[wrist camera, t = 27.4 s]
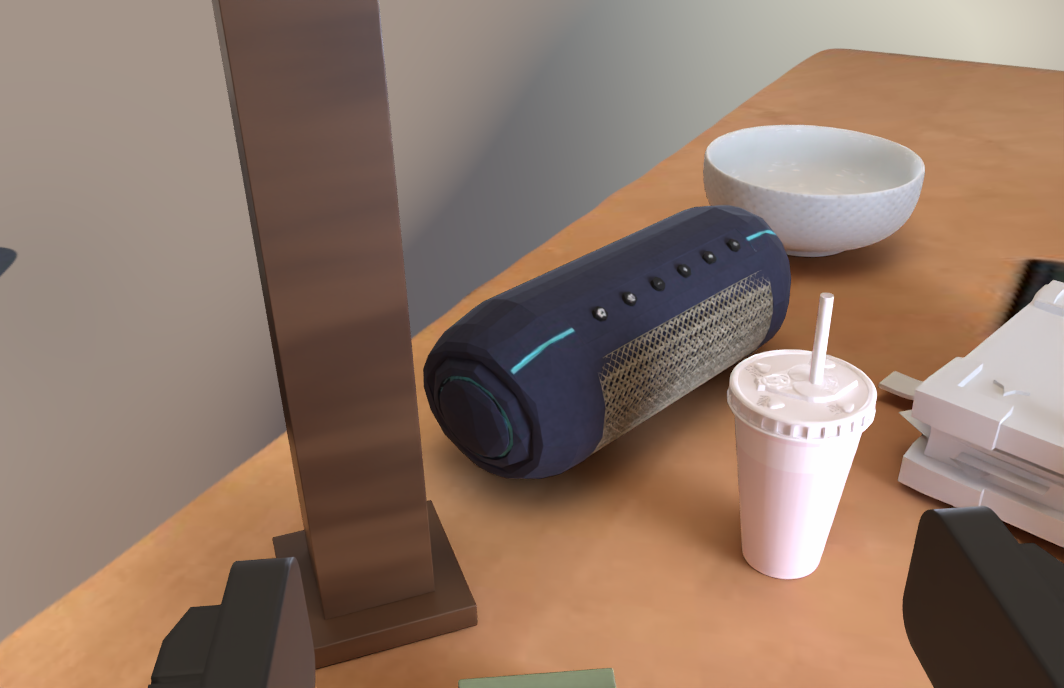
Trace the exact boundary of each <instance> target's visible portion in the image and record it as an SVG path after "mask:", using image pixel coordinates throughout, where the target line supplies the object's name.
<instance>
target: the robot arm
mask: <svg viewBox="0 0 1064 688" xmlns="http://www.w3.org/2000/svg"><path fill="white" fill-rule="evenodd" d="M903 619H904V625H905V629H906V633H907V636H908V639H909V642H910V644H911V646H912V648H913V650H914V652H915V654H916V656H917V657H918V659H919V661H920V663H921V665H922V667H923V668H924V670H925V672H926V674H927V676H928V678H929V679H930V681H931V683H932V685H933V687H934V688H1064V564H1063V563H1062V562H1060V561H1059V560H1058V559H1056V558H1055V557H1053V556H1052V555H1050V554H1049V553H1048V552H1046V551H1045V550H1043V549H1042V548H1040V547H1039V546H1038V545H1036V544H1035V543H1024V544H1019V543H1018V542H1017V540H1016V539H1015V538H1014V536H1013V535H1012V534H1011V532H1010V531H1009V530H1008V528H1007V527H1006V526H1005V525H1004V523H1003V522H1002V521H1001V519H1000V518H999V517H998V515H997V514H996V513H995V512H994V511H993V510H992V509H991V508H989V507H987V506H974V507H960V508H946V509H932V510H927V511H925V512H924V513H923V515H922V516H921V519H920V522H919V526H918V530H917V535H916V539H915V544H914V549H913V553H912V558H911V563H910V567H909V572H908V577H907V581H906V586H905V591H904V596H903ZM148 688H315V654H314V645H313V639H312V633H311V628H310V622H309V617H308V611H307V606H306V600H305V595H304V589H303V584H302V578H301V573H300V568H299V564H298V561H297V559H296V558H295V557H287V558H273V559H259V560H245V561H236V562H234V563H233V565H232V567H231V570H230V573H229V577H228V581H227V585H226V588H225V592H224V596H223V600H222V603H221V605H213V606H200V607H190V609H189V610H188V611H187V612H186V613H185V615H184V616H183V617H182V618H181V619H180V621H179V622H178V623H177V624H176V625H175V627H174V628H173V629H172V630H171V631H170V633H169V634H168V635H167V636H166V637H165V639H164V640H163V642H162V645H161V648H160V651H159V654H158V657H157V661H156V664H155V667H154V670H153V673H152V676H151V685H148Z"/></svg>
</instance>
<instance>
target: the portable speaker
mask: <svg viewBox="0 0 1064 688" xmlns="http://www.w3.org/2000/svg"><path fill="white" fill-rule="evenodd" d="M790 286H791V273H790V264H789V259H788V257H787V254H786V251H785V249H784V246H783V243H782V242H781V240H780V239H779V238H778V236H777V235H776V234H775V233H774V231H773V230H772V229H771V228H770V226H769V225H768V224H767V223H766V222H765V220H764V219H763V218H761V217H759V216H757V215H755V214H753V213H751V212H749V211H747V210H745V209H742V208H739V207H735V206H731V205H716V206H703V207H694V208H690V209H687V210H684V211H681V212H679V213H677V214H675V215H673V216H670V217H668V218H666V219H664V220H662V221H659V222H657V223H655V224H653V225H651V226H648V227H646V228H644V229H642V230H640V231H637V232H635V233H633V234H631V235H629V236H626V237H624V238H622V239H620V240H618V241H615V242H613V243H611V244H609V245H607V246H604V247H602V248H600V249H598V250H596V251H593V252H591V253H589V254H587V255H585V256H582V257H580V258H578V259H576V260H574V261H571V262H569V263H567V264H565V265H563V266H560V267H558V268H556V269H554V270H552V271H549V272H547V273H545V274H543V275H541V276H538V277H536V278H534V279H532V280H530V281H527V282H525V283H523V284H521V285H519V286H516V287H514V288H512V289H510V290H508V291H505V292H503V293H501V294H499V295H497V296H494V297H492V298H490V299H488V300H486V301H484V302H482V303H481V304H479V305H478V306H476V307H475V308H473V309H472V310H471V311H470V312H469V313H467V314H466V315H465V316H464V317H462V318H461V319H460V320H459V321H457V322H456V323H455V324H454V325H453V326H451V327H450V328H449V329H448V330H446V331H445V332H444V333H443V335H442V336H441V337H440V338H439V340H438V341H437V343H436V344H435V346H434V347H433V349H432V350H431V352H430V354H429V355H428V358H427V360H426V363H425V366H424V369H423V373H424V389H425V392H426V395H427V399H428V402H429V405H430V408H431V411H432V413H433V414H434V416H435V418H436V420H437V422H438V423H439V425H440V427H441V429H442V430H443V432H444V434H445V435H446V436H447V437H448V438H449V439H450V440H451V441H452V442H453V443H454V444H455V445H456V446H457V447H458V449H459V450H460V451H461V452H462V453H463V454H465V455H466V456H467V457H468V458H469V459H470V460H471V461H472V462H473V463H475V464H476V465H477V466H478V467H480V468H482V469H484V470H485V471H487V472H489V473H492V474H495V475H498V476H501V477H504V478H522V479H541V478H545V477H549V476H554V475H558V474H561V473H563V472H564V471H566V470H568V469H570V468H572V467H573V466H575V465H577V464H579V463H580V462H582V461H584V460H585V459H586V458H587V457H589V456H591V455H592V454H594V453H595V452H597V451H598V450H600V449H601V448H603V447H605V446H606V445H608V444H609V443H611V442H612V441H614V440H616V439H617V438H619V437H620V436H622V435H623V434H625V433H627V432H628V431H630V430H631V429H633V428H634V427H636V426H638V425H639V424H641V423H642V422H644V421H645V420H647V419H649V418H650V417H652V416H653V415H655V414H656V413H658V412H659V411H661V410H663V409H664V408H666V407H667V406H669V405H670V404H672V403H674V402H675V401H677V400H678V399H680V398H681V397H683V396H685V395H686V394H688V393H689V392H691V391H693V390H694V389H695V388H697V387H699V386H700V385H702V384H703V383H705V382H707V381H708V380H710V379H711V378H713V377H714V376H716V375H718V374H719V373H721V372H722V371H724V370H726V369H727V368H728V367H730V366H732V365H733V364H735V363H736V362H738V361H740V360H741V359H743V358H744V357H746V356H749V355H750V354H751V353H753V352H754V351H755V350H757V349H758V348H759V347H761V346H762V345H763V344H765V343H766V342H767V341H769V340H770V339H771V338H773V336H774V335H775V334H776V333H777V331H778V330H779V329H780V327H781V325H782V323H783V321H784V319H785V316H786V312H787V308H788V304H789V296H790Z"/></svg>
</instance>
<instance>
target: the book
mask: <svg viewBox="0 0 1064 688" xmlns="http://www.w3.org/2000/svg"><path fill="white" fill-rule="evenodd" d="M878 387H879V388H881V389H884V390H886V391H888V392H890V393H893V394H895V395H898V396H900V397H903V398H906V399H909V400H914V402H913V408H912V410H907V411H902V412H899V413H900V414H901V415H902V416H903V417H904V418H905V419H907V420H908V421H909V422H910V423H911V424H912V425H913V426H914V427H916V428H917V429H918V430H919V431H920V432H921V433H922V435H921V436H920V437H919V438H918V439H917V440H916V441H915V442H914V443H913V444H912V445H911V447H910V448H909V449H908V451H907V452H906V453H905V455H904V456H903V460H902V464H901V468H900V473H899V477H898V481H899V482H901V483H903V484H905V485H907V486H909V487H911V488H913V489H915V490H917V491H919V492H921V493H923V494H925V495H928V496H930V497H933V498H935V499H937V500H940V501H942V502H945V503H947V504H950V505H952V506H955V507H957V508H960V507H974V506H987V507H989V508H991V509H992V510H993V511H994V512H995V513H996V514H997V515H998V517H999V518H1000V519H1001V520H1002V521H1004V522H1006V523H1009V524H1011V525H1013V526H1016V527H1018V528H1020V529H1022V530H1025V531H1027V532H1029V533H1031V534H1034V535H1036V536H1038V537H1040V538H1043V539H1045V540H1047V541H1049V542H1052V543H1054V544H1056V545H1058V546H1061V547H1063V548H1064V283H1062V282H1058V281H1055V280H1053V281H1052V282H1051V283H1050V284H1048V285H1045V286H1044V287H1043V288H1041V289H1040V290H1039V291H1038V292H1037V293H1036V295H1035V297H1034V298H1033V300H1032V302H1031V303H1030V304H1028V305H1027V306H1026V307H1025V308H1023V309H1022V310H1021V311H1020V312H1019V313H1017V314H1016V315H1015V316H1014V317H1013V318H1011V319H1010V320H1009V321H1008V322H1007V323H1005V324H1004V325H1003V326H1002V327H1001V328H999V329H998V330H997V331H996V332H994V333H993V334H992V335H991V336H990V337H988V338H987V339H986V340H985V341H984V342H982V343H981V344H980V345H979V346H978V347H976V348H975V349H974V350H973V351H971V352H970V353H969V354H968V355H967V356H965V357H964V358H960V357H956V358H954V359H953V360H952V361H950V362H949V363H947V364H946V365H945V366H943V367H942V368H941V369H939V370H938V371H936V372H935V373H934V374H932V375H931V376H929V377H928V378H927V379H926V380H925V381H924V382H922V381H919V380H916V379H914V378H911V377H909V376H906V375H904V374H901V373H899V372H897V371H894V372H893V373H891V374H890V375H889V376H887V377H886V378H885V379H884V380H882V381H881V382H880V383H879V385H878Z"/></svg>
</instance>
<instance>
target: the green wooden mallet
mask: <svg viewBox="0 0 1064 688" xmlns="http://www.w3.org/2000/svg"><path fill="white" fill-rule="evenodd" d="M458 688H616V682H615V677H614V672H613V669H612V668H603V669H590V670H577V671H564V672H551V673H538V674H525V675H512V676H499V677H486V678H473V679H460V680H459V681H458Z"/></svg>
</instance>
